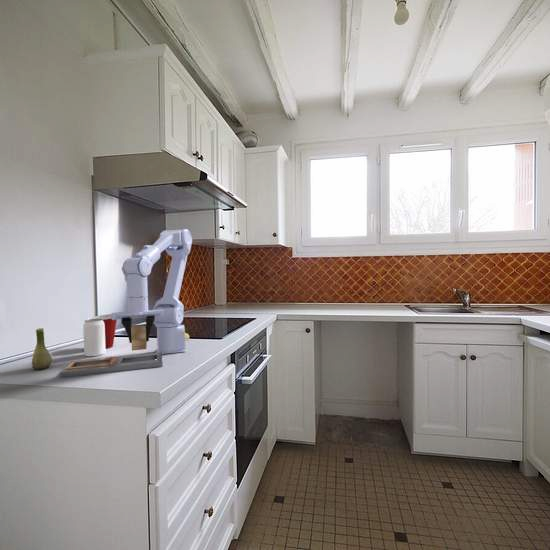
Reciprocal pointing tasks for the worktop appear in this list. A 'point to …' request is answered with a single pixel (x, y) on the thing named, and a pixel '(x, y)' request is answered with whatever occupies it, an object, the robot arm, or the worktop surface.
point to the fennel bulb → (41, 352)
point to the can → (94, 337)
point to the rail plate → (112, 364)
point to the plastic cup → (107, 328)
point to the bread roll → (186, 336)
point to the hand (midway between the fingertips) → (139, 341)
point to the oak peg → (138, 337)
